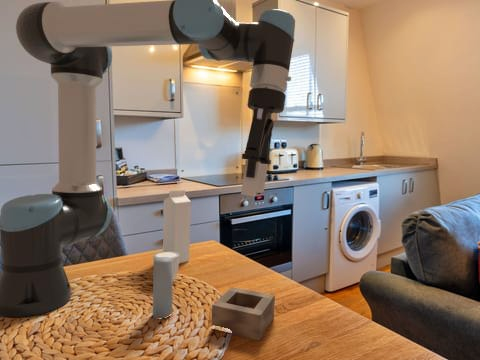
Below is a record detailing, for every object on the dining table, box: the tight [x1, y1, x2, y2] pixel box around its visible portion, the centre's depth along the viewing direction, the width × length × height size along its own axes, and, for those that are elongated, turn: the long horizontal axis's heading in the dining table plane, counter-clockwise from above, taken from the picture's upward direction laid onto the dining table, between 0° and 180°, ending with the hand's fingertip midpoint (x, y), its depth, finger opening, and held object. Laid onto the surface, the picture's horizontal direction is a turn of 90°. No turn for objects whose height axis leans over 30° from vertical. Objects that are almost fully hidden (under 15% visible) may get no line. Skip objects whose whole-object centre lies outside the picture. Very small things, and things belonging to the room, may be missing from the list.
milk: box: [162, 189, 192, 264], centre depth 111 cm, size 6×6×22 cm
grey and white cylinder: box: [152, 251, 180, 278], centre depth 95 cm, size 7×7×7 cm
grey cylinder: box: [152, 257, 174, 319], centre depth 76 cm, size 4×4×12 cm
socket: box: [211, 287, 276, 342], centre depth 74 cm, size 10×10×5 cm
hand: (253, 193), depth 74 cm, fingers open, 13 cm apart
